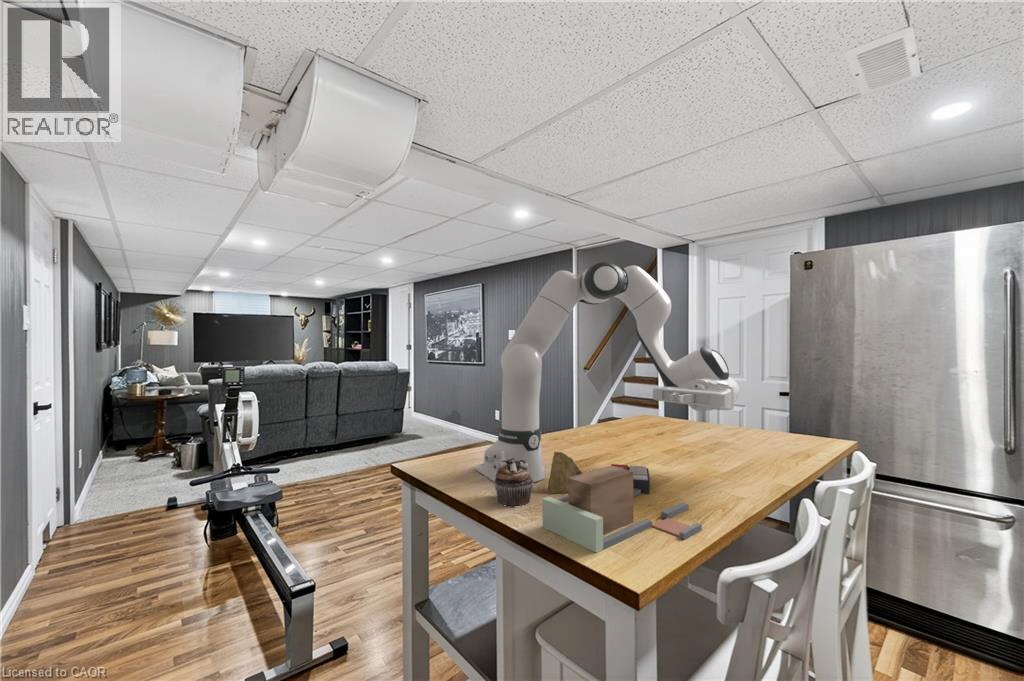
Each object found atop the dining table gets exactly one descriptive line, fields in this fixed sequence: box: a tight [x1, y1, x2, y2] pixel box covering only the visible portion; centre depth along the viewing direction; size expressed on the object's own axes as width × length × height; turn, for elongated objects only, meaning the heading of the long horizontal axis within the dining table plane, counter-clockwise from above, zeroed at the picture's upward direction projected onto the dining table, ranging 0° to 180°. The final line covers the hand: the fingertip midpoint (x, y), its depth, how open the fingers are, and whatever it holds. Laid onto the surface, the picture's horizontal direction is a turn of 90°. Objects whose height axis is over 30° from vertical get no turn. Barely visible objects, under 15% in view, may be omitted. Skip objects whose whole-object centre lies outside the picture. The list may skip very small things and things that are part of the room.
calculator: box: [610, 463, 651, 495], centre depth 119 cm, size 11×4×15 cm
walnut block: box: [567, 465, 634, 536], centre depth 91 cm, size 6×14×11 cm, turn 129°
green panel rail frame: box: [541, 488, 703, 554], centre depth 95 cm, size 30×33×6 cm
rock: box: [547, 451, 583, 495], centre depth 113 cm, size 11×9×10 cm
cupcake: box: [494, 458, 534, 508], centre depth 106 cm, size 10×10×10 cm
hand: (675, 398), depth 110 cm, fingers closed
